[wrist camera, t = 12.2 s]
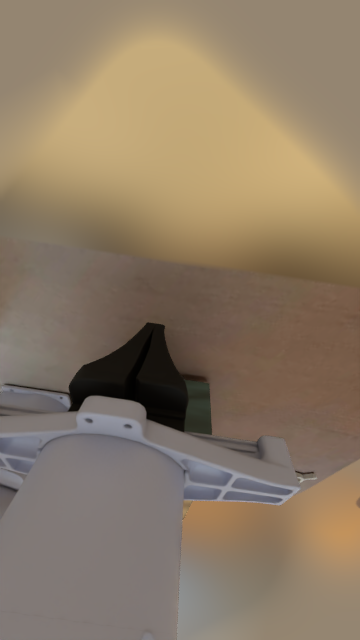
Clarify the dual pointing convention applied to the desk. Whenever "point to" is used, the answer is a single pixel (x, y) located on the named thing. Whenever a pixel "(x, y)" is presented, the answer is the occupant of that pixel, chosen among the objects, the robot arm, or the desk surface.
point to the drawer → (198, 408)
